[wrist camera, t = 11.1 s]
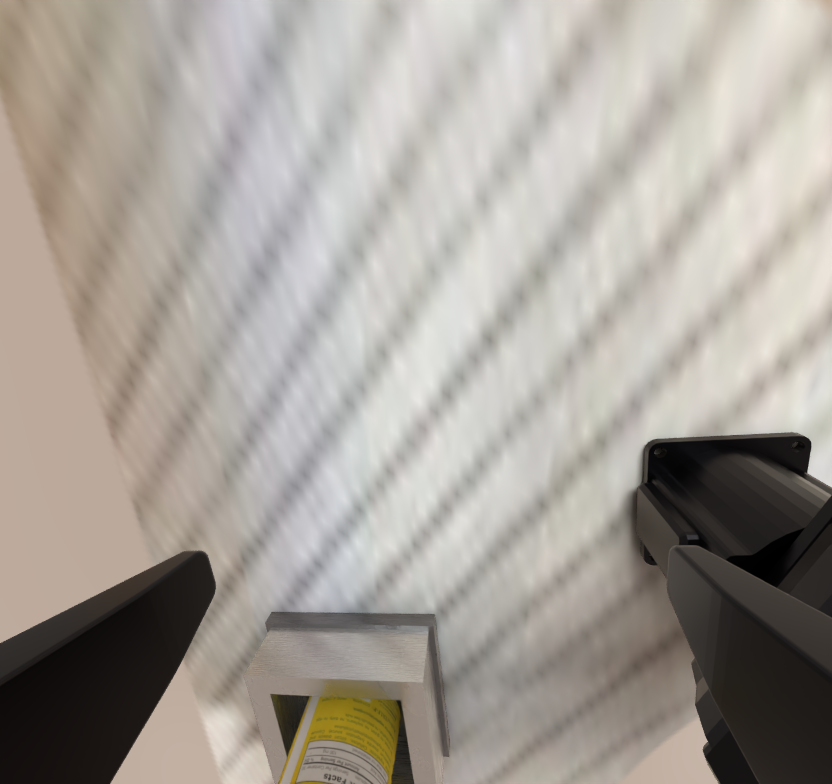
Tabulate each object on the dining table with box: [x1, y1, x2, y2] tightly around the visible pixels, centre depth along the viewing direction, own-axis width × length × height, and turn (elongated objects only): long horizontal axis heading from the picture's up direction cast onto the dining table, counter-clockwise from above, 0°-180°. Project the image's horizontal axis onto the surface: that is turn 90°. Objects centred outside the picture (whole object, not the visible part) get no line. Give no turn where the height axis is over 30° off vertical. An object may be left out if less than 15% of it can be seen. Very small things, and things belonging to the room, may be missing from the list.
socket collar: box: [244, 612, 450, 784], centre depth 23 cm, size 10×10×4 cm
